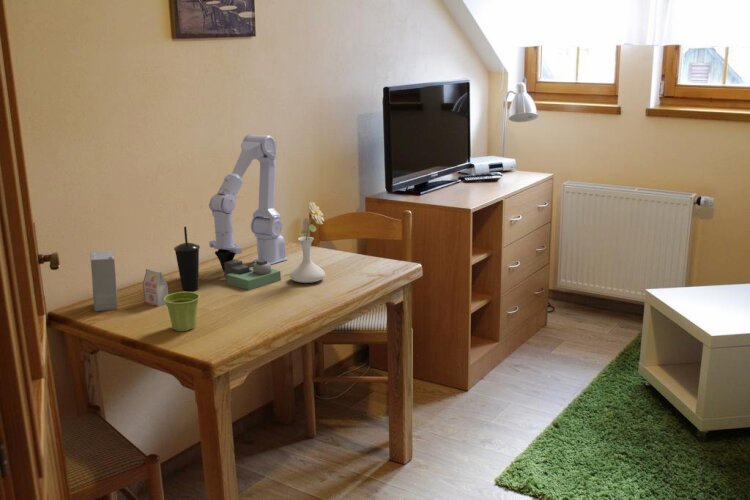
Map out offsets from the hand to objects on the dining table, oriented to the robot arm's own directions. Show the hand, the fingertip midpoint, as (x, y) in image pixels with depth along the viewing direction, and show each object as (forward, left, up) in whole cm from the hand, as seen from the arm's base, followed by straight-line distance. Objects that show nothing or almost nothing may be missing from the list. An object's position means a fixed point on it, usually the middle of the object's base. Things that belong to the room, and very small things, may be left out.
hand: (227, 271), depth 253 cm
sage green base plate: (-1, +12, -2) cm, 12 cm away
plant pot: (+37, +29, -2) cm, 47 cm away
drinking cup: (+16, +2, -2) cm, 16 cm away
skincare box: (+41, -4, -2) cm, 41 cm away
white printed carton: (+30, +5, -2) cm, 31 cm away
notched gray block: (0, +5, -2) cm, 6 cm away
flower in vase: (-14, +24, -2) cm, 28 cm away
